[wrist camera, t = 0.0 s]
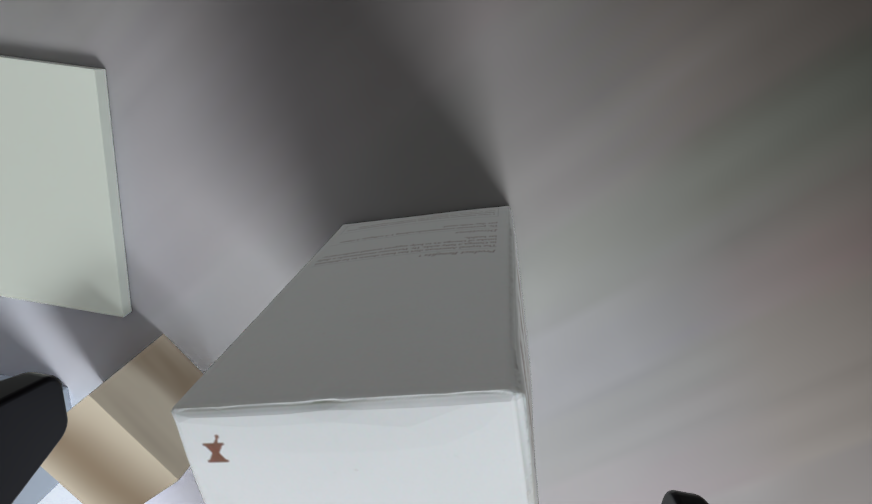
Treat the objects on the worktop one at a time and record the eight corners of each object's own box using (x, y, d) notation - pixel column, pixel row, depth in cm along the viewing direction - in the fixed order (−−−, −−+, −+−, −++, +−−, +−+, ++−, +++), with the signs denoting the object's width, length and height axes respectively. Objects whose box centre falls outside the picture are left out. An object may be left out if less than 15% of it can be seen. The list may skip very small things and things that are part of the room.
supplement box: (372, 371, 25) (248, 657, 13) (340, 219, 22) (153, 405, 11) (533, 363, 24) (553, 671, 12) (517, 201, 21) (524, 389, 10)
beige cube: (164, 332, 26) (88, 394, 21) (236, 405, 27) (178, 480, 22) (101, 384, 28) (18, 451, 23) (171, 450, 29) (105, 528, 24)
